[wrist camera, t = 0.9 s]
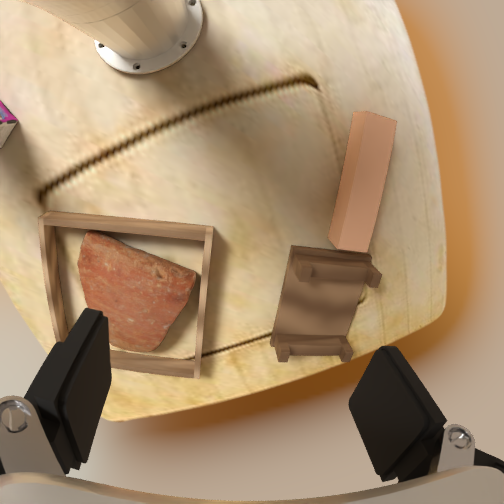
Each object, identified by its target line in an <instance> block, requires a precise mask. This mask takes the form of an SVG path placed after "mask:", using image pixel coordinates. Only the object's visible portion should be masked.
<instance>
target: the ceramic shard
mask: <svg viewBox="0 0 504 504" xmlns="http://www.w3.org/2000/svg"><path fill="white" fill-rule="evenodd" d="M80 249H81V251H80V255H79V260H78V263H77V264H78V268H79V273H80V280H81V283H82V287H83V291H84V294H85V300H86V303H87V305H88V308H90V309H95V310H100V311H102V312H103V315H104V316H106V317H108V322H109V342H110V343H111V345H113V346H116V347H118V348H121V349H124V350H129V351H136V352H150V351H152V350H154V349H156V348H157V347H158V346H159V345H160V344H161V342H162V340H163V339H164V338H165V335H166V334H167V332H168V329H169V327H170V326H171V325H172V324H173V322H174V321H175V319H176V318H177V316H178V315H179V314H180V312H181V311H182V309H183V308H184V307H185V305H186V304H187V302H188V299H189V296H190V293H191V290H192V289H193V287H194V284H195V277H196V272H195V271H193V270H190V269H188V268H185V267H182V266H180V265H177V264H175V263H172V262H170V261H167V260H165V259H162V258H160V257H157V256H155V255H152V254H149V253H147V252H145V251H142V250H139V249H135V248H132V247H129V246H127V245H125V244H124V243H122V242H120V241H118V240H116V239H114V238H112V237H110V236H107V235H105V234H103V233H100V232H98V231H96V230H89V231H87V233H86V235H85V237H84V240H83V242H82V245H81V248H80Z"/></svg>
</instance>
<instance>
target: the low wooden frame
mask: <svg viewBox="0 0 504 504" xmlns="http://www.w3.org/2000/svg"><path fill="white" fill-rule="evenodd" d="M38 225H39V238H40V249H41V258H42V266H43V274H44V281H45V287H46V293H47V299H48V305H49V310H50V315H51V320H52V325H53V329H54V334H55V338H56V342H58V341H60V342H64V341H65V340H66V338H67V336H68V335H69V334H68V329H67V324H66V318H65V313H64V307H63V300H62V294H61V287H60V279H59V271H58V261H57V251H56V238H55V226H62V227H72V228H82V229H93V230H103V231H113V232H123V233H132V234H142V235H152V236H162V237H172V238H181V239H191V240H200V241H205V245H204V255H203V265H202V275H201V286H200V298H199V310H198V323H197V336H196V351H195V361H194V360H184V359H174V358H165V357H157V356H149V355H141V354H134V353H127V352H121V351H114V350H110V362H111V368H117V369H123V370H130V371H136V372H143V373H151V374H159V375H167V376H176V377H186V378H197V379H199V378H200V365H201V352H202V340H203V328H204V317H205V306H206V295H207V285H208V275H209V266H210V257H211V248H212V239H213V226H205V225H196V224H186V223H176V222H166V221H156V220H146V219H136V218H125V217H114V216H103V215H91V214H80V213H68V212H55V211H48V212H47V213H45V214H43V215H42V216H40V217H39V218H38Z"/></svg>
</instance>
